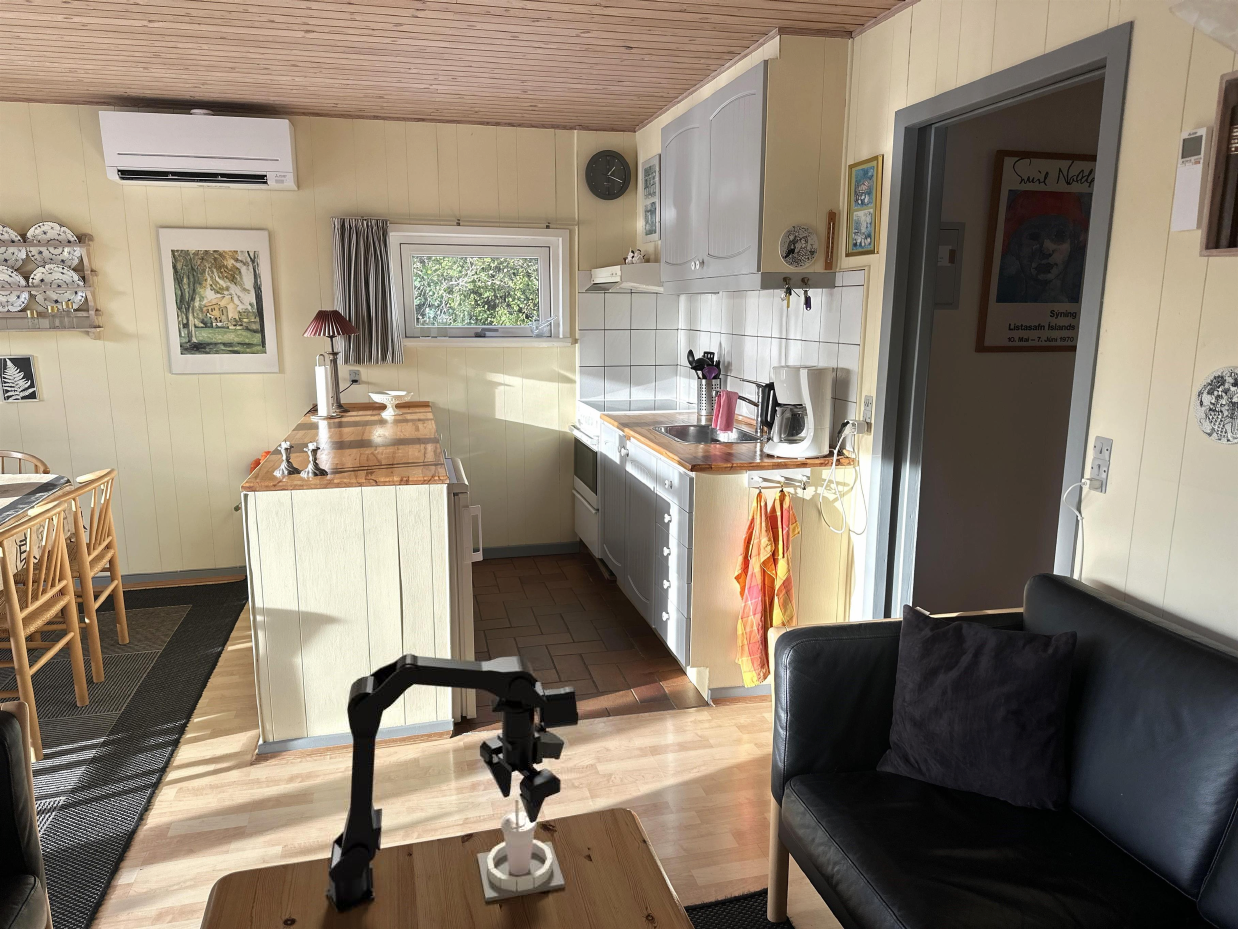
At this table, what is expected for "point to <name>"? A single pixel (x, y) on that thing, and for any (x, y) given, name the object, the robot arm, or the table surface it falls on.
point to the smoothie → (518, 840)
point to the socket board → (506, 884)
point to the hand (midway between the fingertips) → (519, 809)
